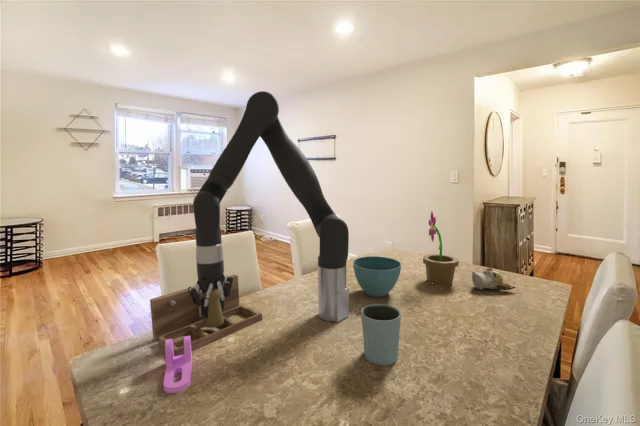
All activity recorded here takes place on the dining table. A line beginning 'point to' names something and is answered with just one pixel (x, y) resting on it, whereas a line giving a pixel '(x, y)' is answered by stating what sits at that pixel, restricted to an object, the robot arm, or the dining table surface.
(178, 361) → the bracket
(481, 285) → the ceramic sculpture
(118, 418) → the dining table surface
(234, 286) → the wooden peg rack
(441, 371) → the dining table surface
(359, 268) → the teal bowl
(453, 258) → the flowerpot
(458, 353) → the dining table surface
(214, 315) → the olive bulbous cylinder
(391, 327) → the light blue cup
